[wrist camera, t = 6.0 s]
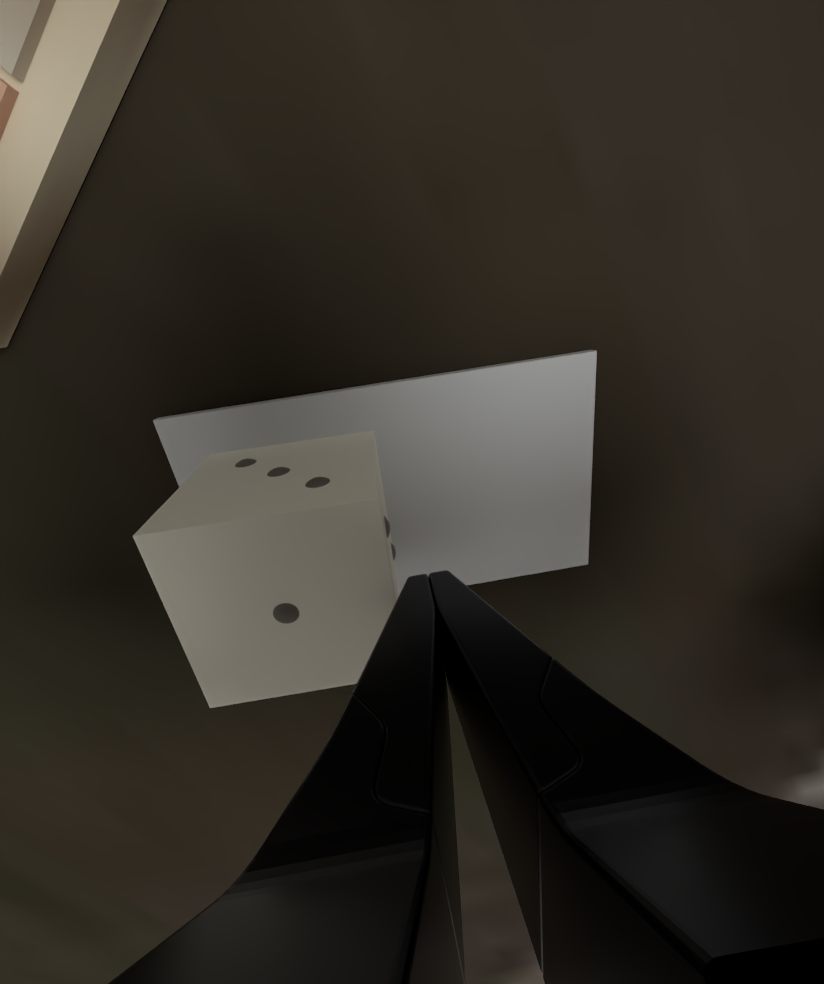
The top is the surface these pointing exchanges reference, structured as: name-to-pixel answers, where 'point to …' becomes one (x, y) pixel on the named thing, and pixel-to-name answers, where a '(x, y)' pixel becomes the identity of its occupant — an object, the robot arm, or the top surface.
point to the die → (276, 566)
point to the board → (55, 120)
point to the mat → (446, 459)
